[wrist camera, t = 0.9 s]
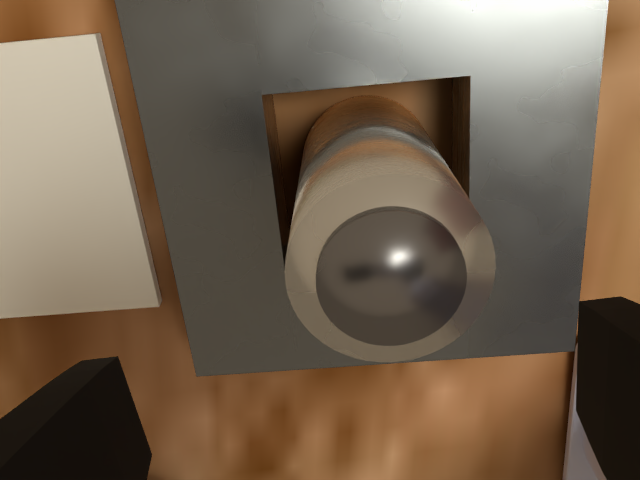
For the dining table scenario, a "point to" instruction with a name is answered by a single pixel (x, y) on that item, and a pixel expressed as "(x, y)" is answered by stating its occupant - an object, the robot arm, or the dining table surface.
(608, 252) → the dining table surface
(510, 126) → the housing
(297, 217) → the silver metal cylinder
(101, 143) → the mat
